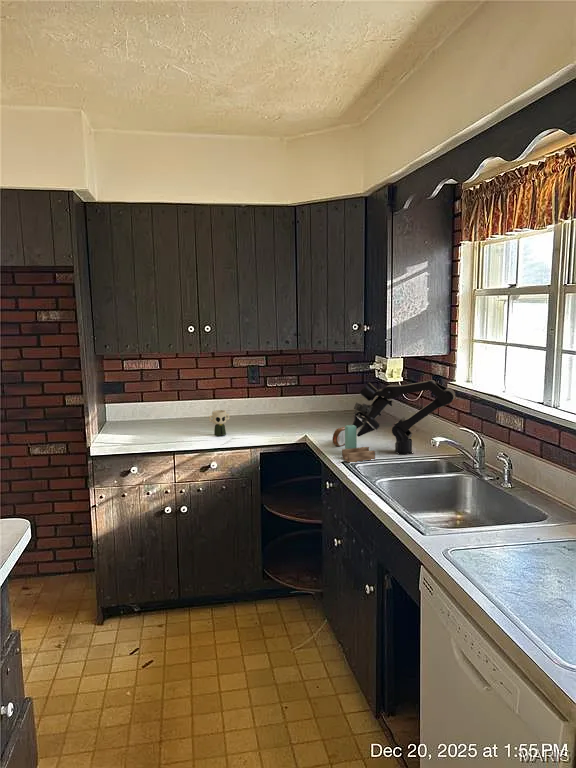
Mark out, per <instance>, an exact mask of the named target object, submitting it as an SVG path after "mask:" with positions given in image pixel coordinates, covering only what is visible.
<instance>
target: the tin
mask: <svg viewBox="0 0 576 768" xmlns="http://www.w3.org/2000/svg"><path fill="white" fill-rule="evenodd" d="M332 435H333V436H332V443H333V445H334V446H336V447H337V446H338V447H342V446H345V426H342V427H340V428H336V429H335V431H334V432H333V433H332Z"/></svg>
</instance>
